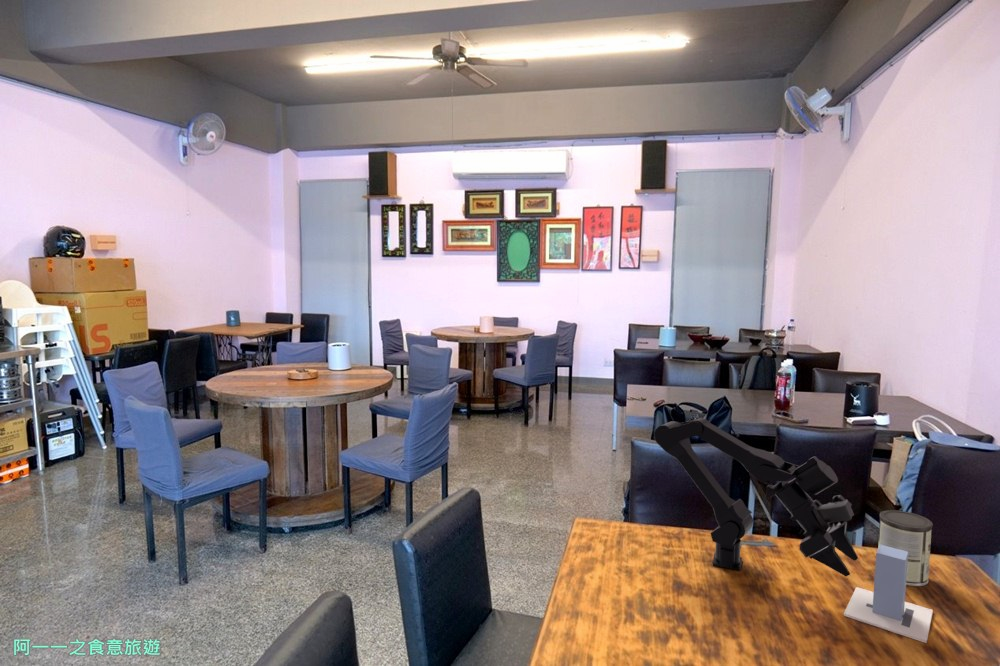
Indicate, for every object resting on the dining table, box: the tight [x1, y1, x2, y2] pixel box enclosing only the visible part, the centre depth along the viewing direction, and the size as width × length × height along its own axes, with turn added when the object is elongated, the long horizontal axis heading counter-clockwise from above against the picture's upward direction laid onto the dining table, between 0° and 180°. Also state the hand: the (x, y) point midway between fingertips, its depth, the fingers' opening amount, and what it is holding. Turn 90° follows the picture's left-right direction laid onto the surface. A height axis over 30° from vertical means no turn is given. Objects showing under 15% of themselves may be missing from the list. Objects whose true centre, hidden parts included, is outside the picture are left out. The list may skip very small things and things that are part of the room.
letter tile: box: [843, 586, 934, 644], centre depth 121 cm, size 14×14×1 cm
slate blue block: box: [872, 545, 908, 621], centre depth 121 cm, size 5×5×13 cm
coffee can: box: [877, 509, 934, 587], centre depth 137 cm, size 10×10×14 cm
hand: (852, 567), depth 125 cm, fingers open, 9 cm apart
